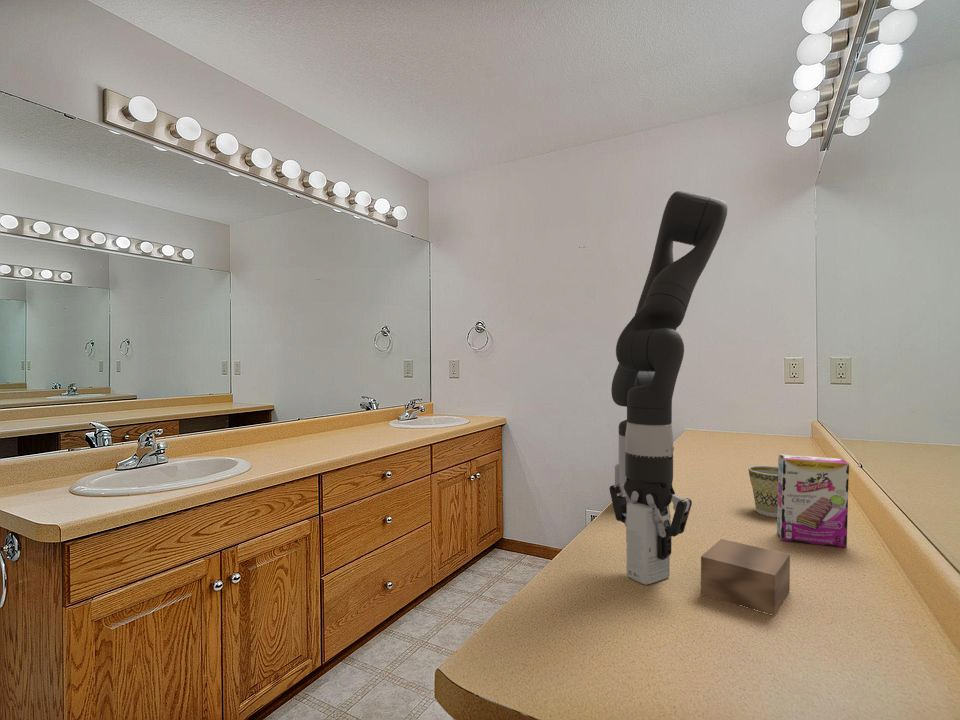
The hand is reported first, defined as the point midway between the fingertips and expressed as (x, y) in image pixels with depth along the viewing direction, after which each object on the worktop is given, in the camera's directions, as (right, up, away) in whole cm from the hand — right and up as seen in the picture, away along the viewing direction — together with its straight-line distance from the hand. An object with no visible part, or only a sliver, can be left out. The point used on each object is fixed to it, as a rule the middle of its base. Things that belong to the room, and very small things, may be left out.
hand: (648, 553), depth 84 cm
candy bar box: (+38, -4, +17) cm, 41 cm away
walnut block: (+13, -4, -6) cm, 15 cm away
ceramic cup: (+41, -4, +33) cm, 53 cm away
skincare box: (0, -4, 0) cm, 4 cm away
